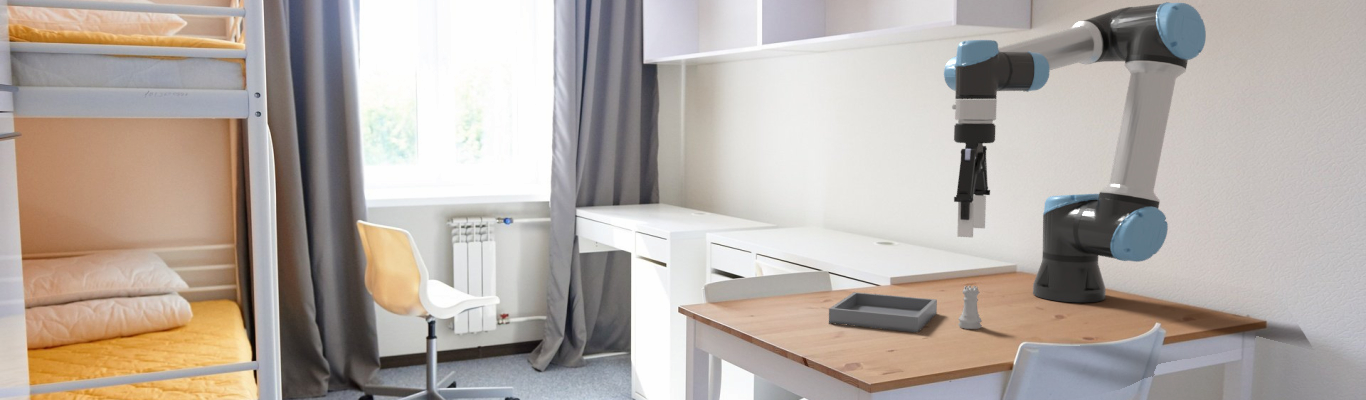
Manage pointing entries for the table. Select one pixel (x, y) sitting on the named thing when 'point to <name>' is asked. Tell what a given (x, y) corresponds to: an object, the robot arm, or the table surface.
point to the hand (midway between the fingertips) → (971, 232)
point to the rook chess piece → (970, 309)
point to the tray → (884, 311)
